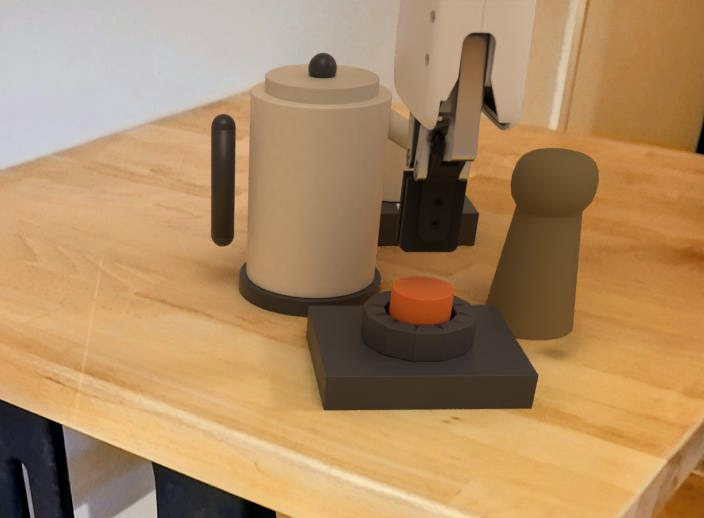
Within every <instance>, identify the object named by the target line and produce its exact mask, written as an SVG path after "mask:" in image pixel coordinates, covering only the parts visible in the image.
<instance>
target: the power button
mask: <svg viewBox="0 0 704 518" xmlns="http://www.w3.org/2000/svg"><path fill="white" fill-rule="evenodd" d="M390 290H391V298H390V307H389V315H390V316H391V317H393V318H395V319H397V320H399V321H403V322H407V323H412V324H439V323H443V322H446V321H449V320H450V317H451V311H452V304H453V297H454V295H455V288H454V286H453V285H452V284H451V283H449V282H448V281H445V280H443V279H440V278H437V277H432V276H425V275H411V276H405V277H404V276H403V277H401V278H400V277H399V278H398V279H396V280H395V281H393V283H392V284H391V289H390Z"/></svg>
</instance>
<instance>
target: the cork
mask: <svg viewBox="0 0 704 518" xmlns="http://www.w3.org/2000/svg"><path fill="white" fill-rule="evenodd" d="M599 181H600V170H599V167H598V164H597V162H596V161H595V160H594V158H592V157H590V155H588V154H586V153H584V152H582V151H577V150H574V149H570V148H569V149H568V148H563V147H561V148H560V147H545V148H537V149H532V150H529V151H528V152H526V153H524V154H522V155H521V157H520V158H519V159H518V160H517V162H516V163H515V166H514V168H513V171H512V173H511V178H510V195H511V197H512V200H513V201H514V203H515V207H514V210H513V213H512V217H511V221H510V224H509V226H508V230H507V233H506V237H505V240H504V243H503V246H502V250H501V252H500V256H499V258H498V263H497V265H496V268H495V272H494V276H493V279H492V282H491V285H490V289H489V291H488V294H487V297H486V301H485V304H484V305H495V306H496V308H497V309H498V311H499V312H500V314H501V316H502V317H503V319H504V320H505V322H506V324H507V325H508V327H509V329H510V330H511V332H512V333H513V335H514V337H515V338H516V340H517V339H518V340H526V341H551V340H558V339H560V338H563V337H567V336H568V335H569V334H570V333H571V332H573V330H574V320H575V307H576V297H577V296H576V295H577V282H578V271H579V261H580V260H579V258H580V247H581V235H582V223H583V222H582V221H583V213H584V211H585V210H586V209H587V208H588V207H589V206H590V205H591V204H592V203H593V201H594V199H595V196H596V194H597V191H598V187H599Z"/></svg>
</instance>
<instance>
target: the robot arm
mask: <svg viewBox="0 0 704 518" xmlns="http://www.w3.org/2000/svg"><path fill="white" fill-rule="evenodd" d="M537 1H538V0H399V5H398V6H399V7H398V14H397V24H396V34H395V35H396V36H395V44H394V45H395V47H394V61H393V85H394V89H395V92H396V94H397V96H398V97H399V98H400V100H401V101H402V103H403V104H404V105H405V107H406V108H407V109H408V111H409V117H408V120H409V127H408V138H407V149H406V168H407V169H414V171H403V179H402V188H401V196H400V205H399V213H398V222H397V230H396V239H397V241H398V243H399V245H398V246H399V248H400V249H401V251H402V252H404V253H453V252H454V251H456V250H457V248H458V246H459V245H458V239H459V233H460V226H461V220H462V213H463V207H464V200H465V195H466V193H467V187H468V181H469V177H470V171H471V166H472V163H473V162H475V161H476V158H477V154H478V145H479V134H480V123H481V116H482V114H484V116H486V117H487V118H488V119H489V121H490V122H491V123H492V124H493V125H494V126H495V127H496V128H497V129H499V130H500V131H510V130H512V129H513V128H515V126H516V125H517V124H518V122H519V121H520V119H521V115H522V112H523V111H522V110H523V104H524V97H525V90H526V83H527V77H528V69H529V62H530V56H531V55H530V54H531V46H532V39H533V32H534V25H535V17H536V10H537Z"/></svg>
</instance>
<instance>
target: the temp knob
mask: <svg viewBox="0 0 704 518" xmlns="http://www.w3.org/2000/svg"><path fill="white" fill-rule="evenodd" d="M403 171H414V169H407V168H406V150H405V149H403V148H402V147H400V146H399V145H397V144H396V143H394V142H393V141H391V140H390V139H388V144H387V154H386V164H385V174H384V184H383V194H382V201H389V202H400V196H401V188H402V179H403Z"/></svg>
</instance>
